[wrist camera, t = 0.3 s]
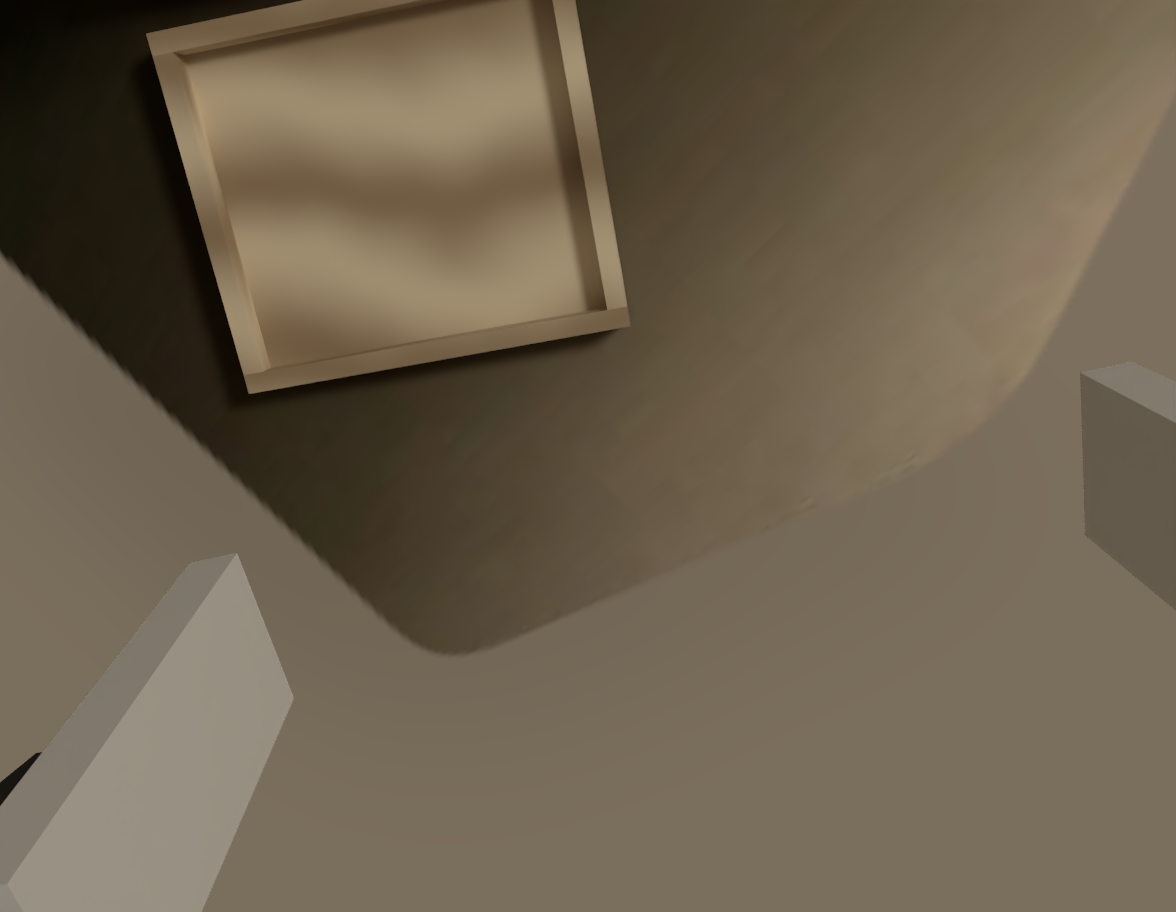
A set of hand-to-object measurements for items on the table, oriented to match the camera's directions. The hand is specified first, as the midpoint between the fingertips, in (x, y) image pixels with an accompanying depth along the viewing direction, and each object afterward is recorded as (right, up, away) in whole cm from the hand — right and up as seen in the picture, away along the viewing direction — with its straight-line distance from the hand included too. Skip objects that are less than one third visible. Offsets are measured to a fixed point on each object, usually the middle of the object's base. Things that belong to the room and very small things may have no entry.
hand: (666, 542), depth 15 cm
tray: (-9, +12, +24) cm, 28 cm away
